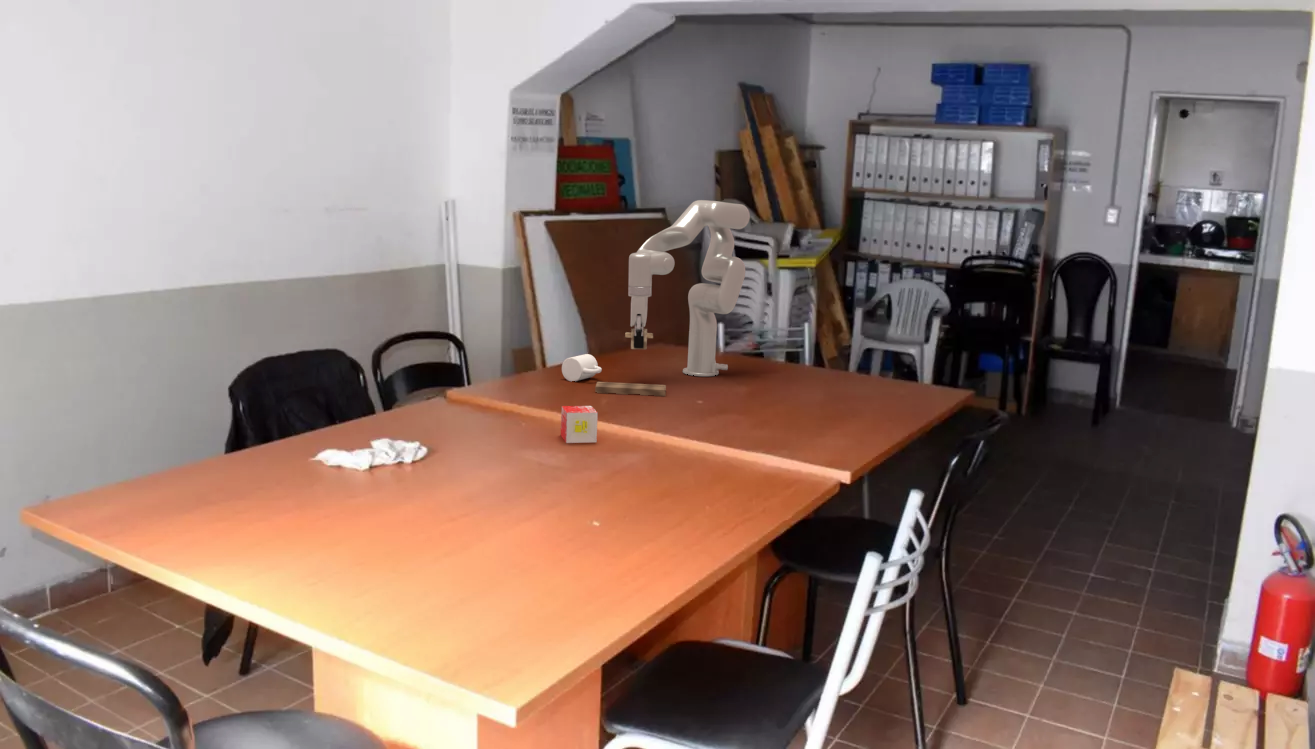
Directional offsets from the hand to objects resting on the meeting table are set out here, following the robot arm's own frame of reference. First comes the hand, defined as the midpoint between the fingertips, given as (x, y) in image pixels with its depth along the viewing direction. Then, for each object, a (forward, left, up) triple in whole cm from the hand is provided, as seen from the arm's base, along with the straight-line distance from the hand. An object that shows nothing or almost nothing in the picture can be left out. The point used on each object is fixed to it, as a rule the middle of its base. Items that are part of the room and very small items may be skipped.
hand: (638, 346), depth 355 cm
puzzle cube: (+13, +78, -13) cm, 80 cm away
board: (+2, +15, -13) cm, 19 cm away
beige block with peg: (0, 0, -1) cm, 1 cm away
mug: (+18, -1, -13) cm, 22 cm away
